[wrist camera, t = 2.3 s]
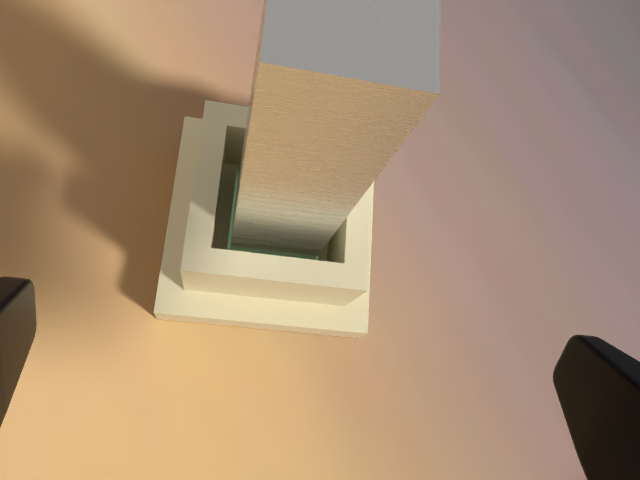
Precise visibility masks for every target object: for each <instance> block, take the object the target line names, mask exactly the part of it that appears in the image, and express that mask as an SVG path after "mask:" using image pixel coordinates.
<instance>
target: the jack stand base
mask: <svg viewBox="0 0 640 480" xmlns="http://www.w3.org/2000/svg"><path fill="white" fill-rule="evenodd" d="M248 108H249V107H246V106H240V105H234V104H228V103H222V102H216V101H209V100H205V105H204V112H203V119H200V118H194V117H187V116H185V117H184V123H183V129H182V136H181V142H180V148H179V155H178V161H177V167H176V174H175V180H174V186H173V192H172V199H171V205H170V211H169V218H168V224H167V230H166V237H165V243H164V249H163V256H162V262H161V268H160V274H159V281H158V287H157V293H156V300H155V306H154V312H153V313H154V315H155V316H156V318H157V319H161V320H171V321H182V322H192V323H203V324H214V325H224V326H235V327H245V328H256V329H267V330H277V331H288V332H298V333H309V334H319V335H330V336H341V337H351V338H358V337H361V336H363V335H365V334H367V333H368V312H369V288H370V264H371V239H372V215H373V191H374V182H373V183H372V185H371V186H370V187H369V188H368V190H367V191H366V192H365V194H364V195H363V196H362V198H361V199H360V200H359V202H358V203H357V204H356V206H355V207H354V208H353V210H352V211H351V212H350V214H349V215H348V216H347V218H346V219H345V220H344V222H343V223H342V224H341V226H340V227H339V228H338V229H337V231H336V232H335V233H334V235H333V236H332V237H331V239H330V240H329V241H328V243H327V244H326V245H325V247H324V248H323V249H322V251H321V252H320V253H319V255H318V260H311V259H302V258H294V257H285V256H277V255H268V254H260V253H251V252H243V251H234V250H227V244H228V236H229V228H230V220H231V212H232V204H233V196H234V187H235V179H236V171H237V166H240V163H241V157H242V150H243V143H244V136H245V129H246V122H247V115H248Z"/></svg>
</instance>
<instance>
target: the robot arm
mask: <svg viewBox="0 0 640 480" xmlns="http://www.w3.org/2000/svg"><path fill="white" fill-rule="evenodd" d="M35 332H36V308H35V292H34V286H33V283H32V281H31V280H29V279H25V278H15V277H0V427H1V424H2V422H3V419H4V417H5V414H6V412H7V409H8V407H9V404H10V401H11V399H12V396H13V393H14V391H15V388H16V385H17V383H18V380H19V377H20V375H21V372H22V369H23V367H24V364H25V361H26V359H27V356H28V353H29V351H30V348H31V345H32V343H33V340H34V337H35ZM553 382H554V386H555V389H556V392H557V395H558V398H559V401H560V404H561V407H562V410H563V413H564V416H565V419H566V422H567V425H568V428H569V431H570V434H571V437H572V440H573V443H574V446H575V449H576V452H577V455H578V458H579V461H580V463H581V465H582V468H583V470H584V473H585V475H586V477H587V480H640V362H639V361H638V360H636V359H634V358H632V357H631V356H629V355H627V354H626V353H624V352H622V351H621V350H619V349H617V348H616V347H614V346H612V345H610V344H609V343H607V342H605V341H604V340H602V339H600V338H598V337H595V336H586V335H575V336H573V337H571V338H570V339H569V341H568V342H567V344H566V346H565V348H564V350H563V352H562V354H561V356H560V358H559V360H558V362H557V364H556V366H555V369H554V373H553Z"/></svg>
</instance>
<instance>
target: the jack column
mask: <svg viewBox="0 0 640 480" xmlns="http://www.w3.org/2000/svg"><path fill="white" fill-rule="evenodd" d="M439 95H440V0H264V5H263V11H262V18H261V25H260V32H259V39H258V46H257V53H256V60H255V67H254V74H253V81H252V87H251V94H250V101H249V108H248V115H247V122H246V129H245V136H244V143H243V150H242V157H241V163H240V166H237V171H236V179H235V187H234V196H233V204H232V212H231V220H230V228H229V236H228V244H227V250H234V251H243V252H251V253H260V254H268V255H277V256H285V257H294V258H302V259H311V260H318V255H319V253H320V252H321V251H322V249H323V248H324V247H325V245H326V244H327V243H328V241H329V240H330V239H331V237H332V236H333V235H334V233H335V232H336V231H337V229H338V228H339V227H340V226H341V224H342V223H343V222H344V220H345V219H346V218H347V216H348V215H349V214H350V212H351V211H352V210H353V208H354V207H355V206H356V204H357V203H358V202H359V200H360V199H361V198H362V196H363V195H364V194H365V192H366V191H367V190H368V188H369V187H370V186H371V185H372V183H373V182H374V181H375V179H376V178H377V177H378V175H379V174H380V173H381V171H382V170H383V169H384V167H385V166H386V165H387V163H388V162H389V161H390V159H391V158H392V157H393V155H394V154H395V153H396V151H397V150H398V149H399V147H400V146H401V145H402V143H403V142H404V141H405V140H406V138H407V137H408V136H409V134H410V133H411V132H412V130H413V129H414V128H415V126H416V125H417V124H418V122H419V121H420V120H421V118H422V117H423V116H424V114H425V113H426V112H427V110H428V109H429V108H430V106H431V105H432V104H433V102H434V101H435V100H436V98H437V97H438V96H439Z"/></svg>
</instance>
